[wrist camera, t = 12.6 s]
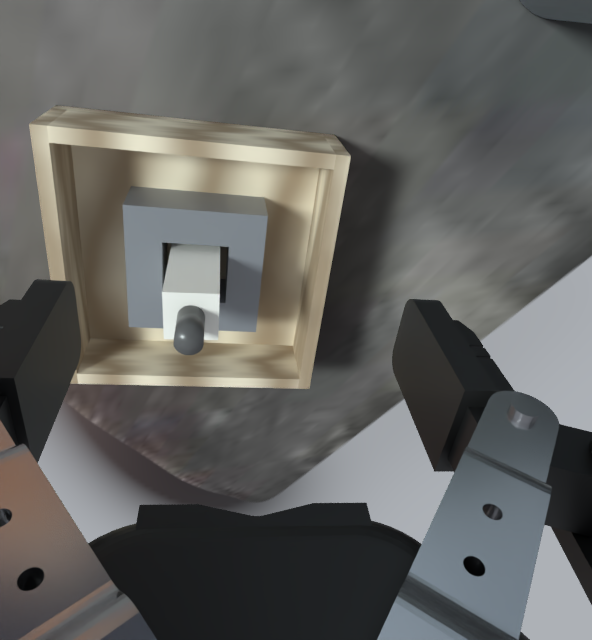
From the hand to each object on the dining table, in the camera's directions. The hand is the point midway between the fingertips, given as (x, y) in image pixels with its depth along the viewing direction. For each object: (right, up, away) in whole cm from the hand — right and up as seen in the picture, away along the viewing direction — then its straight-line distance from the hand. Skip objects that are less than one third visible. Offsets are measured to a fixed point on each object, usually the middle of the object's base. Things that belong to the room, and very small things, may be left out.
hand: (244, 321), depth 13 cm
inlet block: (-7, +6, +29) cm, 31 cm away
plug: (-7, +6, +29) cm, 31 cm away
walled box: (-7, +6, +30) cm, 32 cm away
